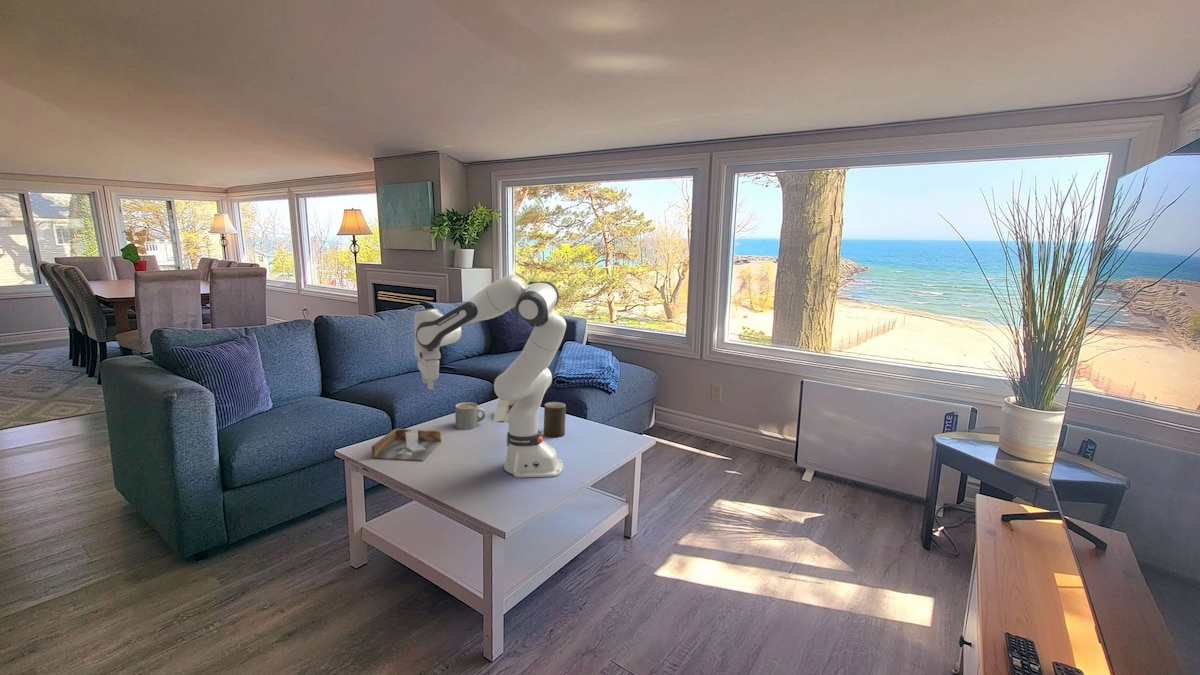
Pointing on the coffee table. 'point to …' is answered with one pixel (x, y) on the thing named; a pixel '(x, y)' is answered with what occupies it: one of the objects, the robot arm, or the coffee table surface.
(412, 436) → the aluminium bracket
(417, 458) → the tray
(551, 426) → the pillar candle
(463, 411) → the coffee mug
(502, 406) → the wall
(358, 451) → the coffee table surface
